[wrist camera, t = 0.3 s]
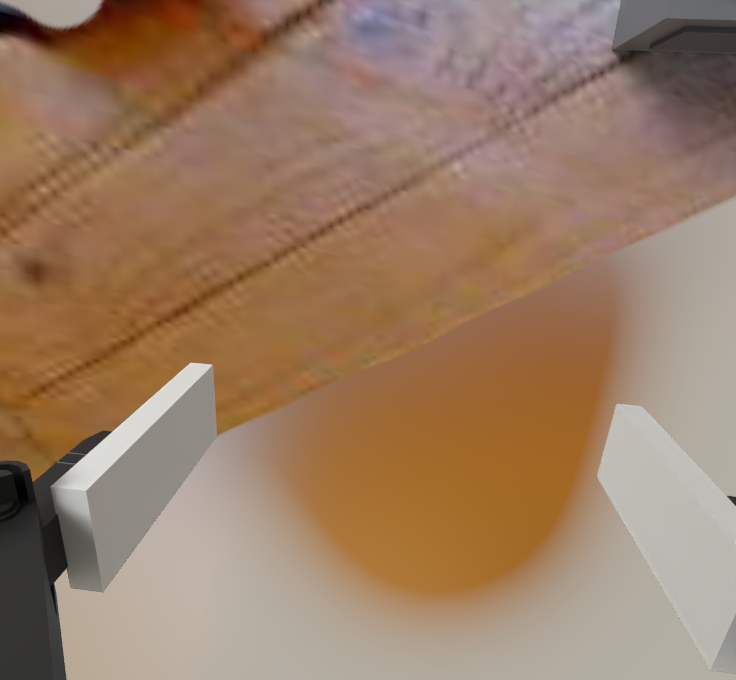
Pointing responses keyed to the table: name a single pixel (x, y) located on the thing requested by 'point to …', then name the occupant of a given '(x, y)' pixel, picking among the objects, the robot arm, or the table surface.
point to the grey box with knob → (677, 26)
